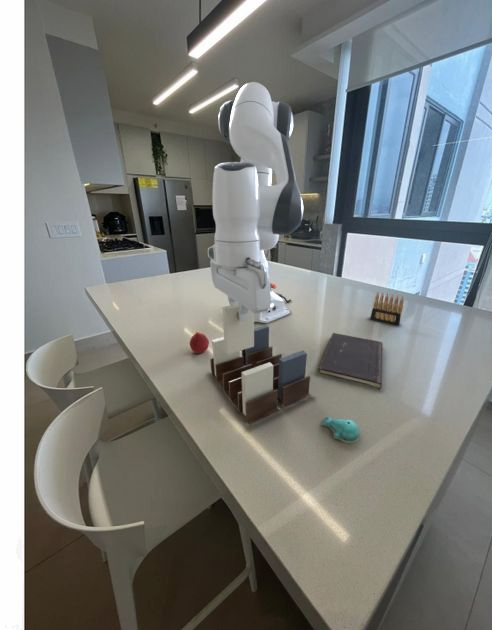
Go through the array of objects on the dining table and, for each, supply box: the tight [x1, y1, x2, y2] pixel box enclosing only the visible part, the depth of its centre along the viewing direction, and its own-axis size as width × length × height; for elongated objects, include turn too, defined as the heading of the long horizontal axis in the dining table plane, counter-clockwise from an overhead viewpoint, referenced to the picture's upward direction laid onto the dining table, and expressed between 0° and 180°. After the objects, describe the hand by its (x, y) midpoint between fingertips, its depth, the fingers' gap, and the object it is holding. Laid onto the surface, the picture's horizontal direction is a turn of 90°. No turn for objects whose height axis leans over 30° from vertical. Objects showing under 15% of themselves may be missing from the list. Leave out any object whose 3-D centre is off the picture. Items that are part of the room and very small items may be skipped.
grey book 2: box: [278, 350, 308, 401], centre depth 62 cm, size 7×2×11 cm, turn 122°
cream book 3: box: [242, 362, 273, 416], centre depth 57 cm, size 7×2×11 cm, turn 122°
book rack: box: [209, 346, 312, 426], centre depth 67 cm, size 18×22×6 cm
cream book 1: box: [221, 304, 255, 355], centre depth 58 cm, size 7×2×11 cm, turn 122°
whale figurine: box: [321, 416, 360, 444], centre depth 53 cm, size 6×7×4 cm
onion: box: [189, 330, 210, 354], centre depth 81 cm, size 6×6×8 cm
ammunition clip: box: [369, 291, 405, 327], centre depth 102 cm, size 11×2×12 cm, turn 55°
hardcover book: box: [318, 332, 383, 390], centre depth 79 cm, size 16×23×2 cm
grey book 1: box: [245, 324, 270, 365], centre depth 74 cm, size 7×2×11 cm, turn 122°
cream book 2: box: [211, 336, 241, 376], centre depth 69 cm, size 7×2×11 cm, turn 122°
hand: (239, 317), depth 58 cm, fingers closed on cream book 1, 1 cm apart
